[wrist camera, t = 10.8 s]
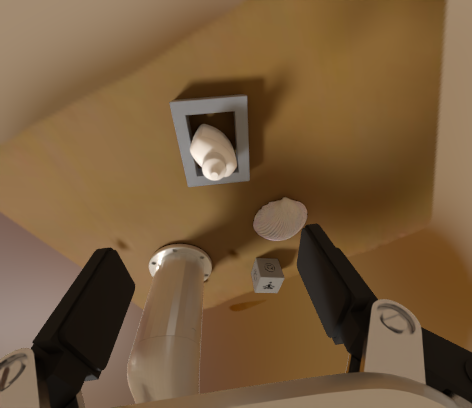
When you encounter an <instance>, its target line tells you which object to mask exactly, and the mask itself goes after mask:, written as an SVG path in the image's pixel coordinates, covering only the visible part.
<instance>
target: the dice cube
mask: <svg viewBox="0 0 472 408" xmlns="http://www.w3.org/2000/svg"><path fill="white" fill-rule="evenodd" d="M251 275H252V280H253V286H254V291H255V293H278V291H279V289H280V286H281V284H282V282H283V280H284V275H283V272H282V269H281V267H280V264H279V261H278V259H270V258H256V259H255V262H254V265H253V268H252V272H251Z"/></svg>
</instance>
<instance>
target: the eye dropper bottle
mask: <svg viewBox="0 0 472 408" xmlns="http://www.w3.org/2000/svg"><path fill="white" fill-rule="evenodd" d="M190 153H191V155H192V156H193V158H194V159H195V161H196V162H197V163H198V164H199V165H200V166H201V167H202V171H203V174H204V176H205V177H206V178H208V179H210V180H213V181H215V180H220V179H222V178H223V177H228V176H230V175H231V174H232V173H233V172H234V170H235V169H236V167H237V161H236V156H235V153H234V149H233V146H232V144H231V142H230V140H229V139H228V138H227V137H226V135H225V134H224V133H222V132H221V131H220V130H218V129H217V128H215V127H213V126H210V125H207V124H201V125H200V126H199V128H198V129H197V131H196V132H195V134H194V137H193V140H192V143H191V147H190Z"/></svg>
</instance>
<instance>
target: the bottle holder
mask: <svg viewBox="0 0 472 408" xmlns="http://www.w3.org/2000/svg"><path fill="white" fill-rule="evenodd" d="M169 103H170V108H171V112H172V117H173V121H174V126H175V130H176V135H177V139H178V144H179V148H180V152H181V157H182V161H183V166H184V170H185V175H186V179H187V184H188V187H194V186H204V185H213V184H223V183H233V182H243V181H250V175H249V142H248V109H247V96H246V95H245V94H239V95H227V96H214V97H202V98H190V99H178V100H173V101H171V102H169ZM230 111H233V113H234V128H235V144H236V159H237V167H236V169H235V170H234V172H233V173H232V174H231V175H230V176H228V177H223V178H222V179H220V180H215V181H213V180H210V179H208V178H206V177H205V176H204V174H203V171H202V168H198V164H197V162H196V161H195V159H194V158H193V156H192V155H191V153H190V147H191V143H192V140H193V137H192V131H191V126H190V120H189V115H195V114H207V113H219V112H230Z"/></svg>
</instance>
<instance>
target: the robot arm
mask: <svg viewBox="0 0 472 408" xmlns="http://www.w3.org/2000/svg"><path fill="white" fill-rule="evenodd" d="M297 268H298V271H299V273H300V275H301V278H302V280H303V282H304V285H305V287H306V289H307V291H308V294H309V296H310V298H311V300H312V303H313V305H314V307H315V309H316V311H317V314H318V316H319V318H320V320H321V323H322V325H323V327H324V329H325V331H326V334H327V335H328V337H330V338H331V337H332V339H333V341H334V343H335V344H336V345H337V344H344V345H345V347H346V349H347V351H348V352H349V358H348V363H347V369H346V373H343V374H336V375H327V376H319V377H311V378H303V379H297V380H290V381H283V382H276V383H270V384H263V385H256V386H249V387H243V388H236V389H230V390H223V391H216V392H210V393H203V394H199V371H200V349H201V329H202V308H203V288H204V281H205V280H206V279H207V278H208V277H209V276H210V274H211V271H212V262H211V259H210V257H209V256H208V255H207V253H206V252H204V251H203V250H201V249H200V248H198V247H195V246H192V245H187V244H172V245H168V246H165V247H162V248H161V249H159V250H157V251H156V252H155V253H154V254H153V256H152V257H151V260H150V262H149V271H150V273H151V275H152V276H153V281H152V284H151V287H150V291H149V294H148V297H147V301H146V304H145V307H144V311H143V314H142V318H141V321H140V324H139V328H138V331H137V334H136V337H135V341H134V344H133V347H132V351H131V354H130V357H129V361H128V368H127V378H128V384H129V387H130V390H131V393H132V395H133V398H134V400H135V402H136V404H133V405H126V406H120V407H113V408H472V352H470V351H468V350H466V349H464V348H462V347H460V346H458V345H456V344H454V343H452V342H450V341H448V340H446V339H444V338H442V337H440V336H438V335H436V334H434V333H432V332H430V331H428V330H426V329H424V328H422V327H421V326H420V323H419V322H418V320H417V318H416V317H415V316H414V315H413V314H412V313H411V312H410V311H409V310H408V309H406V308H405V307H404V306H402V305H401V304H399V303H397V302H394V301H391V300H386V299H381V300H378V299H377V298H376V296H375V295H374V294H373V292H372V291H371V290H370V288H369V287H368V286H367V284H366V283H365V282H364V280H363V279H362V278H361V276H360V275H359V274H358V272H357V271H356V270H355V268H354V267H353V266H352V264H351V263H350V262H349V260H348V259H347V258H346V256H345V255H344V254H343V252H342V251H341V250H340V249H339V248H336V247H335V246H334V245H333V243H332V242H331V240H330V239H329V238H328V236H327V235H326V234H325V232H324V231H323V230H322V228H321V227H320V225H319V224H310V225H306V226H305V228H302V232H301V239H300V246H299V252H298V259H297ZM134 291H135V284H134V282H133V280H132V278H131V276H130V274H129V273H128V271H127V269H126V267H125V265H124V264H123V262H122V260H121V258H120V256H119V254H118V253H117V251H116V250H113V249H112V248H102V249H97V250H96V251H95V252H94V253H93V255H92V256H91V258H90V259H89V261H88V262H87V264H86V265H85V266H84V268H83V269H82V271H81V272H80V274H79V275H78V277H77V278H76V280H75V281H74V282H73V284H72V285H71V287H70V288H69V290H68V291H67V293H66V294H65V295H64V297H63V298H62V300H61V301H60V303H59V304H58V306H57V307H56V308H55V310H54V312H53V313H52V314H51V316H50V317H49V319H48V320H47V322H46V323H45V324H44V326H43V327H42V329H41V330H40V332H39V333H38V335H37V336H36V337H35V339H34V340H33V343H34V344H33V346H32V347H31V349H29V348H21V349H18V350H15V351H13V352H12V353H9V354H7V355H6V356H4V357H3V358H1V359H0V408H85V405H84V401H83V396H82V393H81V387H82V385H83V383H84V381H90V380H96V379H99V376H100V374H101V371H102V370H104V369H105V367H106V366H107V363H108V361H109V358H110V355H111V352H112V350H113V347H114V344H115V342H116V339H117V336H118V334H119V331H120V329H121V326H122V323H123V320H124V317H125V315H126V312H127V310H128V307H129V304H130V302H131V299H132V296H133V294H134Z"/></svg>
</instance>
